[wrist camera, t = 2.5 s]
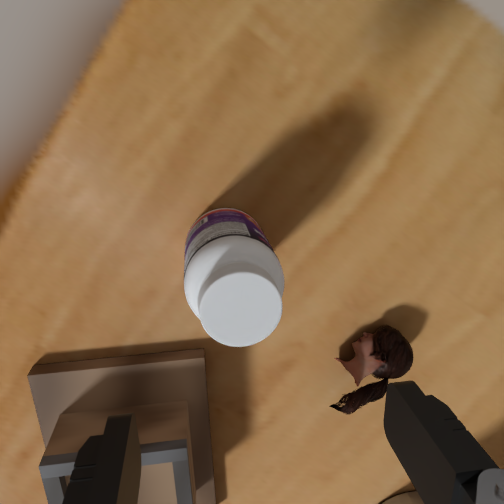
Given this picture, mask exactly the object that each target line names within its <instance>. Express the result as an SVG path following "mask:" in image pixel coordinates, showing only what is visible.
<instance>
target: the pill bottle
mask: <svg viewBox="0 0 504 504" xmlns="http://www.w3.org/2000/svg"><path fill="white" fill-rule="evenodd" d="M184 289H185V295H186V299H187V301H188V304H189V306H190V308H191V309H192V311H193V312H194V314H195V315H196V316H197V317H198V318H199V319H200V320H201V323H202V326H203V328H204V329H205V331H206V332H207V333H208V334H209V336H211V337H212V338H213V339H214V340H216V341H217V342H220V343H222V344H224V345H228V346H233V347H243V346H249V345H253V344H256V343H258V342H260V341H262V340H263V339H265V338H266V337H267V336H269V335H270V334H271V333H272V332H273V330H274V329H275V328H276V326H277V325H278V323H279V321H280V318H281V314H282V299H281V298H282V295H283V291H284V274H283V270H282V267H281V265H280V262H279V260H278V258H277V256H276V254H275V253H274V251H273V249H272V247H271V245H270V244H269V242H268V240H267V238H266V237H265V235H264V233H263V231H262V229H261V228H260V226H259V225H258V223H257V222H256V221H255V220H254V219H253V218H252V217H251V216H249V215H248V214H246V213H245V212H243V211H240V210H237V209H233V208H219V209H215V210H212V211H209V212H207V213H205V214H204V215H202V216H201V217H199V218H198V219H197V220H196V221H195V222H194V224H193V225H192V226H191V228H190V230H189V232H188V235H187V238H186V243H185V267H184Z"/></svg>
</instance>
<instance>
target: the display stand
mask: <svg viewBox="0 0 504 504" xmlns="http://www.w3.org/2000/svg"><path fill="white" fill-rule="evenodd" d="M27 376H28V380H29V384H30V388H31V392H32V396H33V400H34V404H35V408H36V412H37V416H38V420H39V424H40V428H41V432H42V436H43V440H44V444H45V448H46V450H45V452H44V455H43V457H42V460H41V462H40V465H39V470H40V473H41V477H42V481H43V485H44V489H45V492H46V496H47V500H48V504H62V503H63V499H64V496H65V493H66V490H67V486H68V483H69V482H70V477H71V473H72V470H73V469H74V463H75V460H76V457H77V454H78V451H79V449H80V448H81V447H82V446H83V444H84V443H85V442H86V441H87V439H88V438H89V437H90V436H95V435H103V433H104V429H105V425H106V421H107V418H108V416H109V415H117V414H126V413H134V414H135V417H136V424H137V430H138V436H139V443H140V449H141V463H142V465H141V479H140V487H139V495H138V503H137V504H216V499H215V486H214V473H213V461H212V448H211V435H210V422H209V409H208V397H207V384H206V371H205V358H204V348H203V349H193V350H183V351H173V352H163V353H153V354H143V355H133V356H123V357H113V358H103V359H92V360H82V361H72V362H62V363H52V364H42V365H33V367H32V369H31V370H30V372H29V374H28V375H27Z"/></svg>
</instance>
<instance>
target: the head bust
mask: <svg viewBox="0 0 504 504" xmlns="http://www.w3.org/2000/svg"><path fill="white" fill-rule="evenodd" d="M379 329H380V330H379ZM379 329H377V330H376V331H377V332H376V331H375V332H376V333H374V334H371V333H366V332H364V333H363V337H360V338H359V339H358V340H357V341H356V342H354V343H353V344H352V346H353V349H354V351H355V354H356V356H355V357H354V358H353V359H352V360H351V361H348V362H346V361H342V360H340V359H339V358H334V359H336V360H338V361H340V362H341V363H342V364H343V366H344V367H345V368H346V370H348V371H349V372H350V373H351V375H352V376H353V377H354V379H355V383H357V384H356V385H357V386H359V384H360V382H361V380H362V379H363V378H364V377H366V376H367V375H369V374H371V373H373V374H374V375H375V376H374V377H375V378H379V379H380V378H384V379H383V380H381V381H380V382H377V381H376V383H375V382H374V383H372V384H368V385H365V386H364V387H360V388H359V389H358V390H356V391H352V392H351V393H348V394H347V395H344V396H342V398H341V399H340V401H339V402H338V403H336V404H333V405H331V406H330V407H333V408H335V409H336V410H338V411H341V412H342V413H343V412H344V413H345V412H346V414H347V415H349V414H351V412H352V413H353V412H355V411H356V410H357V409H359V408H361V407H362V406H364V405H366V403H369V402H370V401H371V402H373V400H374V402H375V401H376V400H378V399H381V398H382V397H383V396H384V395H385V393H386V391H387V385H388V379H394V378H395V379H396V378H399V377H401V376H403V375H404V374H406V373H407V372H408V371H409V370H410V368H411V366H412V363H413V351H412V348H411V346H410V344H409V343H408V341H407V340H406V339H405V338H404V337H403V336H402V335H401V333H400V332H399V330H398V331H397V330H396V329H395V328H394V329H393V328H392V327H391V326H390V327H389V326H387V325H386V326H385V325H383V327H381V326H380V328H379ZM373 374H372V376H373ZM342 395H343V394H342ZM344 398H345V399H344ZM346 399H347V400H346ZM348 399H349V400H348ZM342 400H343V401H342ZM339 403H341V404H342V403H343V406H342V407H339V405H340V406H341V404H339ZM344 403H346V404H345V405H344ZM363 403H364V404H363ZM351 405H352V406H351ZM360 406H361V407H360ZM357 407H358V408H357ZM353 409H354V410H353ZM344 413H343V414H344Z"/></svg>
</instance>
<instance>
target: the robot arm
mask: <svg viewBox="0 0 504 504" xmlns="http://www.w3.org/2000/svg"><path fill="white" fill-rule="evenodd" d="M384 430H385V434H386V437H387V439H388V442H389V443H390V445H391V447H392V449H393V450H394V452H395V454H396V456H397V457H398V459H399V461H400V463H401V464H402V466H403V468H404V469H405V471H406V473H407V475H408V476H409V478H410V480H411V482H412V483H413V485H414V487H415V489H416V490H417V491H414V492H407V493H404V494H400V495H397V496H395V497H393V498H391V499H388V500H387V501H385V502H384V503H382V504H504V470H503V469H500V468H499V467H498V466H497V465H496V464H495V462H494V461H493V460H492V459H491V458H490V456H489V455H488V454H487V453H486V452H485V450H484V449H483V448H482V447H481V446H480V444H479V443H478V442H477V441H476V440H475V438H474V437H473V436H472V435H471V434H470V432H469V431H467V430H466V427H465V426H464V425H463V424H462V423H461V421H460V420H458V419H457V417H456V415H455V414H454V413H453V412H452V411H451V409H450V408H449V407H448V406H447V405H446V404H445V403H443V402H442V401H440V400H439V399H437V398H436V397H434V396H433V395H427V396H425V395H424V393H423V392H422V391H421V389H420V388H419V387H418V386H417V384H416V383H415V382H414V381H403V382H395V383H389V384H388V386H387V392H386V402H385V412H384ZM141 465H142V463H141V449H140V443H139V436H138V430H137V424H136V417H135V414H134V413H126V414H117V415H109V416H108V418H107V421H106V425H105V429H104V433H103V435H95V436H90V437H89V438H88V439H87V441H86V442H85V443H84V444H83V446H82V447H81V448H80V449H79V451H78V454H77V457H76V460H75V463H74V469H73V470H72V473H71V477H70V482H69V483H68V486H67V490H66V493H65V496H64V499H63V503H62V504H137V503H138V495H139V487H140V479H141Z"/></svg>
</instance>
